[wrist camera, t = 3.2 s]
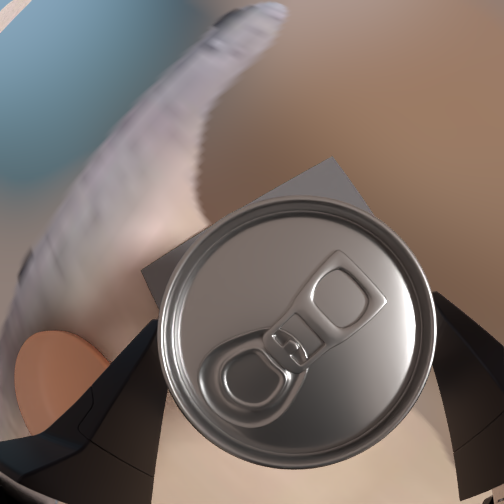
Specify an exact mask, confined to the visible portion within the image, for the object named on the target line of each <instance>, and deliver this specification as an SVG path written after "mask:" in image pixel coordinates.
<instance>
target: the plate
mask: <svg viewBox="0 0 504 504" xmlns="http://www.w3.org/2000/svg"><path fill="white" fill-rule="evenodd" d="M109 365H110V363H109V362H108V361H107V359H106V358H105V357H104V356H103V355H102V354H101V353H100V352H99V351H98V350H97V349H96V348H95V347H94V346H92V345H91V344H90V343H89V342H87V341H86V340H84V339H83V338H81V337H80V336H77V335H75V334H73V333H70V332H66V331H59V330H55V331H42V332H38V333H35V334H34V335H32V336H30V337H29V338H28V339H27V340H26V341H25V343H24V344H23V345H22V347H21V349H20V351H19V353H18V356H17V359H16V365H15V374H14V380H15V392H16V397H17V401H18V405H19V409H20V412H21V414H22V417H23V419H24V422H25V424H26V426H27V428H28V430H29V432H30V433H31V435H32V436H33V435H37V434H39V433H41V432H43V431H45V430H46V429H47V428H48V427H49V426H51V425H52V424H53V423H54V422H55V421H56V420H57V419H58V418H59V417H60V416H61V415H62V414H64V413H65V412H66V411H67V410H68V409H69V408H70V407H71V406H72V405H73V404H74V403H75V402H76V401H77V400H78V399H79V398H80V397H81V396H82V395H83V394H84V393H85V392H86V390H87V389H88V388H89V387H90V386H92V384H93V383H94V382H95V381H96V379H97V378H98V377H99V376H100V375H101V374H102V373H103V372H104V371H105V370H106V368H107V367H108V366H109Z"/></svg>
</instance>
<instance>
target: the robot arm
mask: <svg viewBox="0 0 504 504" xmlns="http://www.w3.org/2000/svg"><path fill="white" fill-rule="evenodd" d="M432 295H433V299H434V304H435V310H436V318H437V340H436V349H435V355H434V359H433V364H432V365H433V369H434V372H435V375H436V379H437V383H438V386H439V390H440V394H441V397H442V401H443V405H444V410H445V414H446V418H447V423H448V427H449V432H450V437H451V442H452V448H453V452H454V453H453V454H454V460H455V467H456V473H457V481H458V489H459V498H460V501H462V500H465V499H468V498H471V497H473V496H476V495H479V494H481V493H484V492H486V491H489V490H491V489H492V493H493V495H492V496H490V497H488V498H486V499H485V500H484V501H483V503H482V504H504V346H503V345H502V344H500V343H499V342H498V341H497V340H496V339H495V338H494V337H493V336H491V335H490V334H489V333H488V332H487V331H486V330H484V329H483V328H482V327H481V326H480V325H478V324H477V323H476V322H475V321H474V320H472V319H471V318H470V317H469V316H467V315H466V314H465V313H464V312H463V311H461V310H460V309H459V308H458V307H456V306H455V305H454V304H453V303H451V302H450V301H449V300H447V299H446V298H445V297H444V296H442V295H441V294H440V293H438V292H437V291H433V292H432ZM157 329H158V319H153V320H151V321H150V322H149V323H148V324H147V325H146V327H145V328H144V329H143V330H142V331H141V332H140V333H139V334H138V335H137V336H136V337H135V338H134V339H133V340H132V341H131V343H130V344H129V345H128V346H127V347H126V348H125V349H124V350H123V351H122V352H121V353H120V354H119V355H118V357H117V358H116V359H115V360H114V361H113V362H112V363H111V364H110V365H109V366H108V367H107V368H106V370H105V371H104V372H103V373H102V374H101V375H100V376H99V377H98V378H97V379H96V381H95V382H94V383H93V384H92V386H90V387H89V388H88V389H87V390H86V392H85V393H84V394H83V395H82V396H81V397H80V398H79V399H78V400H77V401H76V402H75V403H74V404H73V405H72V406H71V407H70V408H69V409H68V410H67V411H66V412H65V413H64V414H62V415H61V416H60V417H59V418H58V419H57V420H56V421H55V422H54V423H53V424H52V425H51V426H49V427H48V428H47V429H46V430H45V431H43V432H41V433H39V434H37V435H33V436H28V437H24V438H18V439H13V440H7V441H2V442H0V504H151V500H152V491H153V483H154V474H155V466H156V459H157V452H158V445H159V438H160V432H161V425H162V419H163V413H164V407H165V401H166V396H167V390H168V387H167V384H166V381H165V379H164V376H163V372H162V369H161V364H160V360H159V353H158V342H157Z"/></svg>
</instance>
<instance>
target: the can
mask: <svg viewBox="0 0 504 504" xmlns="http://www.w3.org/2000/svg"><path fill="white" fill-rule="evenodd" d="M436 340H437V318H436V310H435V304H434V299H433V295H432V291H431V288H430V285H429V282H428V280H427V277H426V275H425V273H424V271H423V269H422V267H421V265H420V263H419V262H418V260H417V258H416V257H415V255H414V254H413V252H412V251H411V250H410V248H409V247H408V246H407V244H406V243H405V242H404V241H403V240H402V239H401V238H400V237H399V236H398V235H397V234H396V233H395V232H394V231H393V230H392V229H391V228H390V227H388V226H387V225H386V224H385V223H384V222H382V221H381V220H379V219H378V218H376V217H375V216H373V215H372V214H370V213H368V212H366V211H364V210H362V209H360V208H358V207H356V206H353V205H351V204H348V203H345V202H342V201H339V200H335V199H331V198H326V197H320V196H310V195H291V196H281V197H275V198H270V199H266V200H262V201H258V202H255V203H252V204H250V205H247V206H245V207H242V208H240V209H238V210H236V211H234V212H232V213H230V214H228V215H227V216H225V217H223V218H222V219H221V220H219V221H217V222H216V223H215V224H213V225H212V226H211V227H210V228H208V229H207V230H206V231H205V232H204V233H203V234H202V235H200V236H199V237H198V238H197V239H196V240H195V242H194V243H193V244H192V245H191V246H190V247H189V249H188V250H187V251H186V252H185V254H184V255H183V256H182V258H181V259H180V261H179V262H178V264H177V266H176V267H175V269H174V271H173V273H172V275H171V277H170V279H169V282H168V284H167V286H166V289H165V292H164V295H163V298H162V302H161V306H160V311H159V318H158V329H157V342H158V353H159V360H160V364H161V369H162V372H163V376H164V379H165V381H166V384H167V387H168V389H169V391H170V393H171V395H172V397H173V399H174V401H175V403H176V404H177V406H178V408H179V409H180V410H181V412H182V413H183V415H184V416H185V417H186V419H187V420H188V421H189V422H190V423H191V424H192V426H193V427H194V428H195V429H196V430H197V431H198V432H199V433H200V434H202V435H203V436H204V437H205V438H206V439H207V440H209V441H210V442H211V443H213V444H214V445H216V446H217V447H219V448H220V449H222V450H223V451H225V452H227V453H229V454H231V455H233V456H235V457H237V458H239V459H242V460H244V461H247V462H250V463H253V464H257V465H261V466H265V467H270V468H277V469H291V470H297V469H311V468H318V467H323V466H328V465H332V464H335V463H338V462H341V461H344V460H347V459H349V458H351V457H354V456H356V455H358V454H360V453H362V452H364V451H365V450H367V449H369V448H370V447H372V446H374V445H375V444H376V443H378V442H379V441H381V440H382V439H383V438H384V437H386V436H387V435H388V434H389V433H390V432H391V431H392V430H394V429H395V428H396V427H397V426H398V425H399V423H400V422H401V421H402V420H403V419H404V418H405V417H406V415H407V414H408V413H409V411H410V410H411V409H412V407H413V406H414V404H415V403H416V401H417V399H418V398H419V396H420V394H421V392H422V390H423V388H424V386H425V384H426V381H427V379H428V376H429V373H430V370H431V367H432V364H433V359H434V355H435V349H436Z"/></svg>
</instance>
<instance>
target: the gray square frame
mask: <svg viewBox="0 0 504 504" xmlns="http://www.w3.org/2000/svg"><path fill="white" fill-rule="evenodd" d="M291 195H310V196H320V197H326V198H331V199H335V200H339V201H342V202H345V203H348V204H351V205H353V206H356V207H358V208H360V209H362V210H364V211H366V212H368V213H370V214H372V215H373V216H374V214H373V213H372V211H371V210H370V209H369V207H368V206H367V204H366V203H365V201H364V200H363V198H362V197H361V195H360V194H359V192H358V191H357V189H356V188H355V187H354V185H353V184H352V183H351V181H350V179H349V178H348V177H347V175H346V174H345V173H344V171H343V170H342V169H341V167H340V166H339V165H338V163H337V162H336V160H335V159H334V158H333V157H330V158H328V159H326V160H325V161H323V162H321V163H319V164H317V165H316V166H314V167H312V168H310V169H308V170H306V171H305V172H303V173H301V174H299V175H298V176H296V177H294V178H292V179H290V180H289V181H287V182H285V183H283V184H282V185H280V186H278V187H276V188H275V189H273V190H271V191H270V192H268V193H266V194H264V195H263V196H261V197H259V198H257V199H256V200H254V201H252V202H251V203H249V204H247V205H250V204H252V203H255V202H258V201H262V200H266V199H270V198H275V197H281V196H291ZM247 205H246V206H247ZM244 207H245V206H244ZM210 227H211V226H210ZM210 227H209V228H210ZM207 229H208V228H207ZM207 229H206V230H207ZM206 230H204V231H202V232H201V233H199V234H197V235H196V236H194V237H193V238H191V239H189V240H188V241H186V242H185V243H183V244H181V245H180V246H178V247H177V248H175V249H173V250H172V251H170V252H169V253H167V254H166V255H164V256H162V257H161V258H159V259H158V260H156V261H155V262H153V263H151V264H150V265H148V266H147V267H145V268H144V269H142V270H141V272H142V274H143V276H144V278H145V281H146V283H147V285H148V287H149V289H150V291H151V294H152V296H153V298H154V300H155V302H156V304H157V306H158V308H159V310H160V306H161V302H162V298H163V295H164V292H165V289H166V286H167V284H168V282H169V279H170V277H171V275H172V273H173V271H174V269H175V267H176V266H177V264H178V262H179V261H180V259H181V258H182V256H183V255H184V254H185V252H186V251H187V250H188V249H189V247H190V246H191V245H192V244H193V243H194V242H195V240H196V239H197V238H198V237H199V236H200V235H202V234H203V233H204V232H205V231H206Z"/></svg>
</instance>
